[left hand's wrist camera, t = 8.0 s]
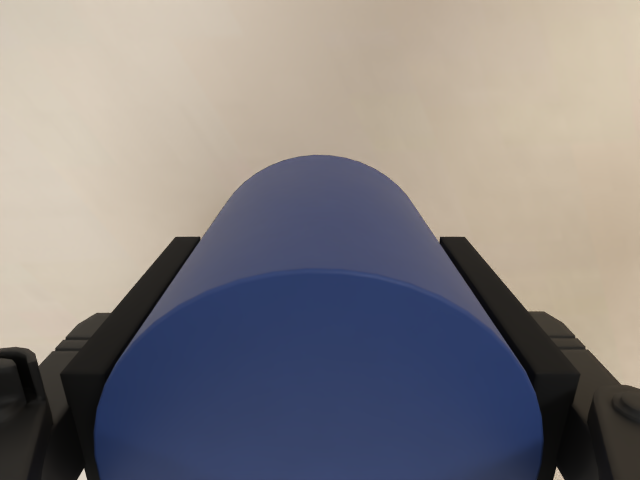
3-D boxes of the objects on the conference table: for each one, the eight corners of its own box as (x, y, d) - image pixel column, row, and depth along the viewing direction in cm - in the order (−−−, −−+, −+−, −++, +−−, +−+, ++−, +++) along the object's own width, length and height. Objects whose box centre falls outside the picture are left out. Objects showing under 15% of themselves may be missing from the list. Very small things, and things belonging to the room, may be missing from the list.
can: (210, 345, 16) (111, 600, 9) (210, 144, 14) (65, 248, 6) (408, 360, 17) (487, 621, 9) (446, 165, 14) (608, 292, 6)
